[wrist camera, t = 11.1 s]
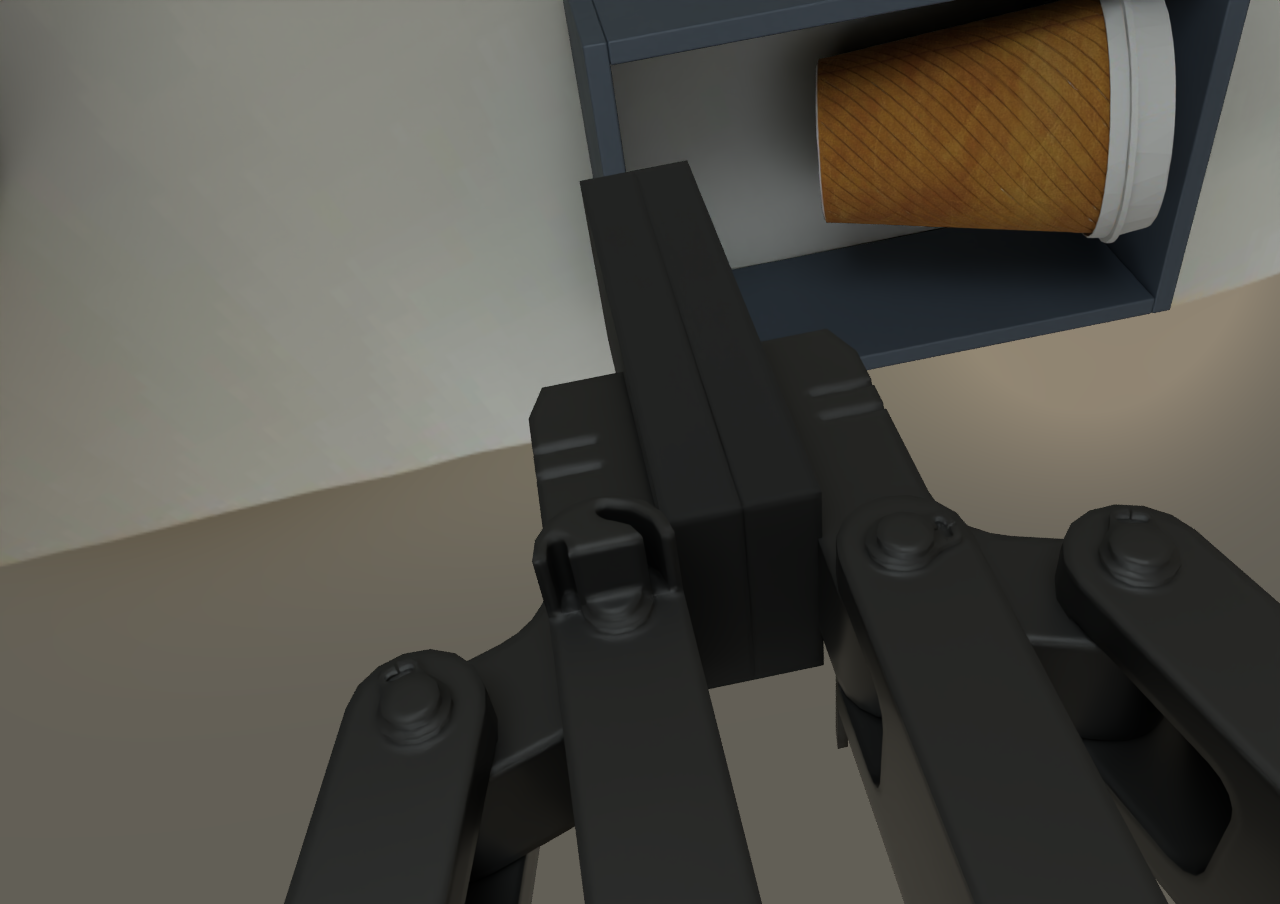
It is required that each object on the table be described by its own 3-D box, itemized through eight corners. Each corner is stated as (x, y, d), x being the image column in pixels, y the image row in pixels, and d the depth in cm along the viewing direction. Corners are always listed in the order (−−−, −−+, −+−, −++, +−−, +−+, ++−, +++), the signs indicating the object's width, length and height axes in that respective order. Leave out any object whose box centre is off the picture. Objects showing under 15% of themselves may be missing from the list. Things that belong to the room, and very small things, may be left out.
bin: (614, 306, 51) (642, 416, 45) (556, -39, 40) (582, 46, 34) (1083, 214, 51) (1170, 310, 45) (1148, -148, 41) (1273, -84, 35)
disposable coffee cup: (831, 223, 49) (1114, 200, 47) (823, 297, 41) (1165, 275, 38) (818, 0, 45) (1129, -40, 42) (806, 33, 37) (1190, -14, 34)
